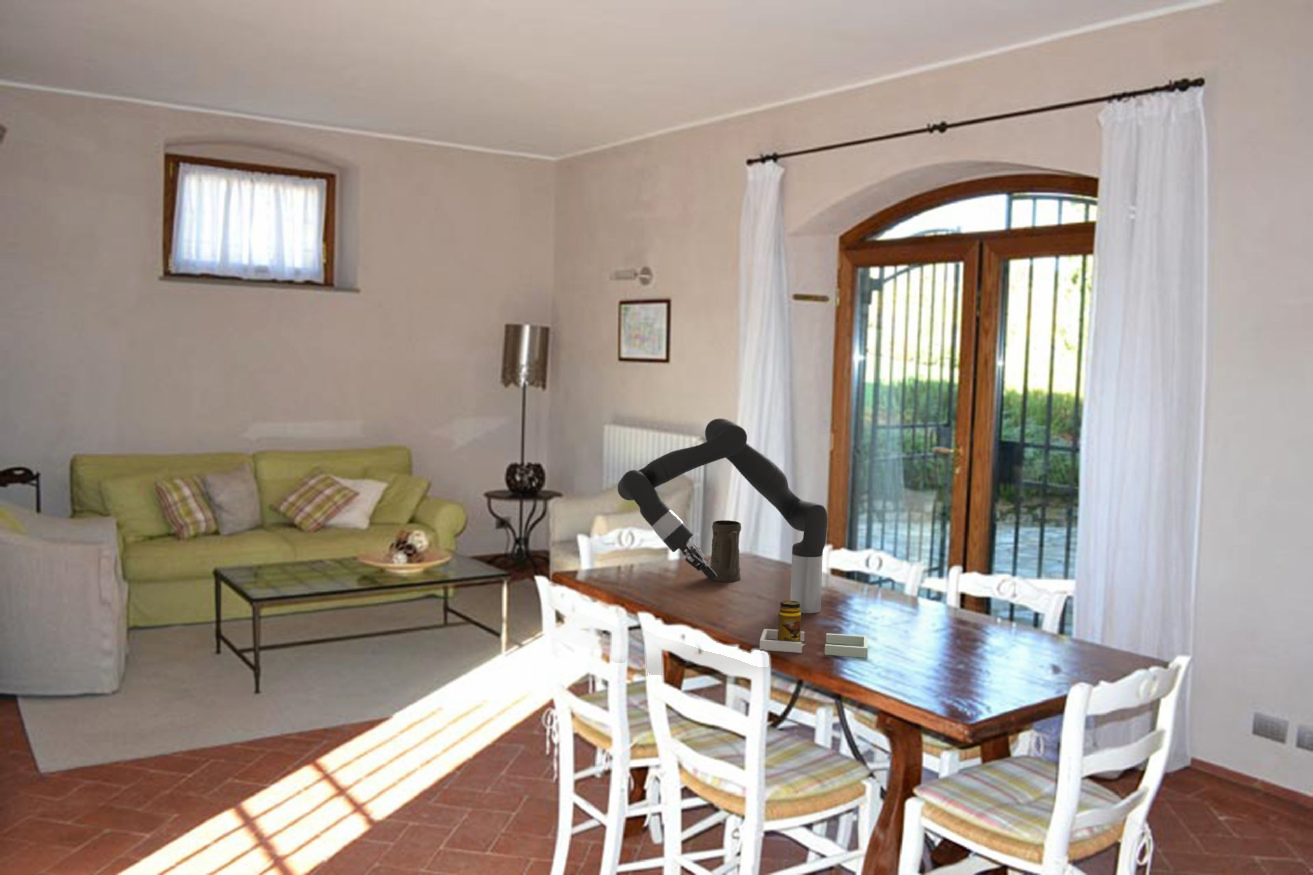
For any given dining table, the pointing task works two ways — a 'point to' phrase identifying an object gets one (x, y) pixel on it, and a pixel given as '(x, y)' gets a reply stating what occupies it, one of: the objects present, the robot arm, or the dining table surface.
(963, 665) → the dining table surface
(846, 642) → the white shallow tray
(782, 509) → the robot arm
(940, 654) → the dining table surface
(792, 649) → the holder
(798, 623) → the condiment
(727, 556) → the beer stein
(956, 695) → the dining table surface
